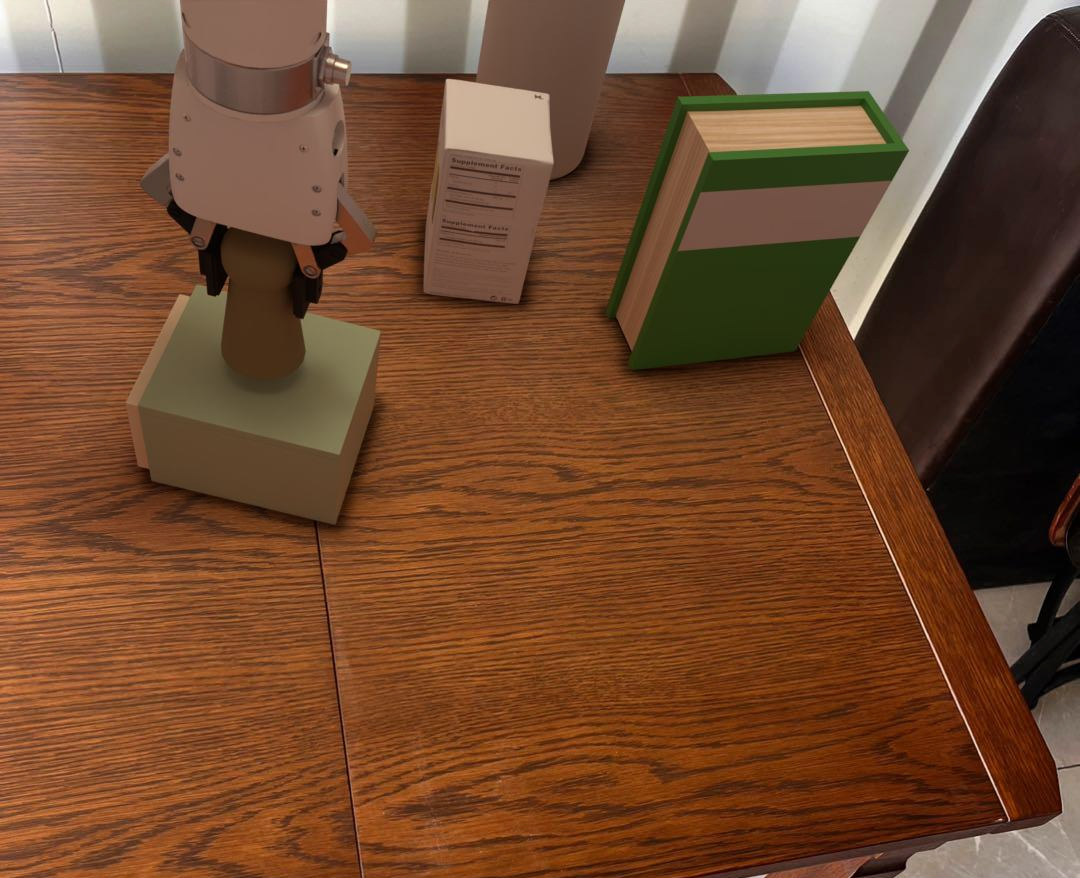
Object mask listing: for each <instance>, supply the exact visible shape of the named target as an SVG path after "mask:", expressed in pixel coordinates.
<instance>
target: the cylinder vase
mask: <svg viewBox="0 0 1080 878" xmlns="http://www.w3.org/2000/svg"><path fill="white" fill-rule="evenodd" d="M625 3H626V0H488V2H487V7H486V14H485V20H484V28H483V32H482V39H481V45H480V52H479V57H478V65H477V71H476V78H475V83H481V84H487V85H494V86H501V87H507V88H514V89H521V90H528V91H534V92H540V93H546V94H549V96H550V98H549V112H550V132H551V143H552V153H553V161H554V164H553V169H552V173H551V177H550V180H549V181H551V180H557V179H560V178H563V177H564V176H567V175H568V174H570V173H571V172H573V171H574V170H576V168H577V167H578V166H579V165H580V163H581V162H582V160H583V158H584V155H585V151H586V148H587V145H588V141H589V137H590V134H591V129H592V125H593V121H594V119H595V116H596V111H597V107H598V103H599V99H600V96H601V94H602V93H601V92H602V88H603V86H604V81H605V77H606V74H607V70H608V68H609V67H608V66H609V64H610V63H609V62H610V60H611V55H612V52H613V47H614V44H615V41H616V37H617V33H618V31H619V30H618V29H619V26H620V22H621V18H622V14H623V11H624V8H625Z"/></svg>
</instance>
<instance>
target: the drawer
mask: <svg viewBox="0 0 1080 878" xmlns="http://www.w3.org/2000/svg"><path fill="white" fill-rule="evenodd" d="M190 297H191V296H190V295H185V294H182V293H179V294H178V296H177V298H176V299H175V302H174V304H173V306H172V308H171V310H170V312H169V314H168V316H167V318H166V320H165V322H164V324H163V326H162V327H161V331H160V332H159V334H158V335H157V336H158V337H157V338H156V340H155V342H154V345H153V346H152V348H151V350H150V352H149V355H148V356H147V359H146V360H145V363H144V364H143V366H142V368H141V371H140V372H139V375H138V376H137V378H136V381H135V383H134V384H133V386H132V389H131V391H130V392H129V395H128V397H127V399H126V400H125V407H126V408H125V409H126V414H127V418H128V423H129V424H128V425H129V428H130V432H131V439H132V444H133V448H134V454H135V458H136V464H137V467H139V468H143V469H147V470H149V465H148V459H147V454H146V448H145V443H144V438H143V432H142V427H141V421H140V416H139V410H138V403H139V401H140V399H141V397H142V395H143V393H144V391H145V389H146V387H147V385H148V383H149V381H150V379H151V377H152V375H153V372H154V370H155V368H156V366H157V364H158V362H159V360H160V358H161V356H162V354H163V352H164V350H165V348H166V346H167V344H168V342H169V340H170V338H171V336H172V334H173V331H174V329H175V327H176V325H177V323H178V321H179V319H180V317H181V315H182V313H183V311H184V309H185V307H186V305H187V303H188V301H189V299H190Z"/></svg>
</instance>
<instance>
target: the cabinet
mask: <svg viewBox="0 0 1080 878" xmlns="http://www.w3.org/2000/svg"><path fill="white" fill-rule="evenodd" d="M227 292H228V291H225V290H222V291H221V293H220V295H219V296H218V295H217V296H216V297H214V296H210V295H207V285H206V286H205V285H201V284H198V283H197V284H196V285H195V286H194V288H193V290H192V293H191V295H190V296H189V297H190V299H189V301H188V303H187V305H186V307H185V309H184V311H183V313H182V315H181V317H180V319H179V321H178V323H177V325H176V327H175V329H174V331H173V334H172V336H171V338H170V340H169V342H168V344H167V346H166V348H165V350H164V352H163V354H162V356H161V358H160V360H159V362H158V364H157V366H156V368H155V370H154V372H153V375H152V377H151V379H150V381H149V383H148V385H147V387H146V389H145V391H144V393H143V395H142V397H141V399H140V401H139V403H138V410H139V416H140V421H141V427H142V432H143V438H144V443H145V448H146V454H147V459H148V465H149V469H148V471H149V476H150V480H151V482H155V483H159V484H163V485H167V486H172V487H176V488H179V489H184V490H188V491H191V492H192V491H193V492H197V493H200V494H205V495H209V496H212V497H213V496H214V497H218V498H222V499H225V500H228V501H229V500H230V501H234V502H239V503H243V504H246V505H251V506H254V507H259V508H262V509H268V510H271V511H275V512H279V513H280V512H281V513H284V514H288V515H292V516H296V517H299V518H300V517H301V518H305V519H309V520H313V521H317V522H321V523H326V524H330V525H336V524H337V521H338V518H339V516H340V512H341V509H342V506H343V503H344V500H345V497H346V493H347V490H348V488H349V484H350V481H351V478H352V475H353V472H354V468H355V465H356V463H357V459H358V456H359V453H360V450H361V447H362V444H363V441H364V438H365V434H366V431H367V428H368V427H369V426H368V425H369V422H370V419H371V416H372V413H373V411H374V407H375V398H376V388H377V379H378V367H379V359H380V358H379V357H380V347H381V337H382V331H381V330H378V329H375V328H370V327H367V326H363V325H359V324H355V323H351V322H347V321H343V320H340V319H335V318H333V317H332V318H331V317H329V316H328V317H327V316H323V315H320V314H316V313H311V312H306V314H305V317H304V319H301V325H302V331H303V337H304V343H305V349H306V353H305V357H304V361H303V362H302V364H301V365H300V366H299V367H298V369H297V370H295V371H294V372H292V373H291V374H289V375H288V376H285V377H282V378H279V379H275V380H256V379H251V378H247V377H245V376H243V375H241V374H238V373H236V372H235V371H234V370H233V369H232V368H230V367H229V366H228V365H227V363H226V362H225V360H224V358H223V356H222V352H221V340H222V332H223V324H224V316H225V308H226V300H227Z"/></svg>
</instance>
